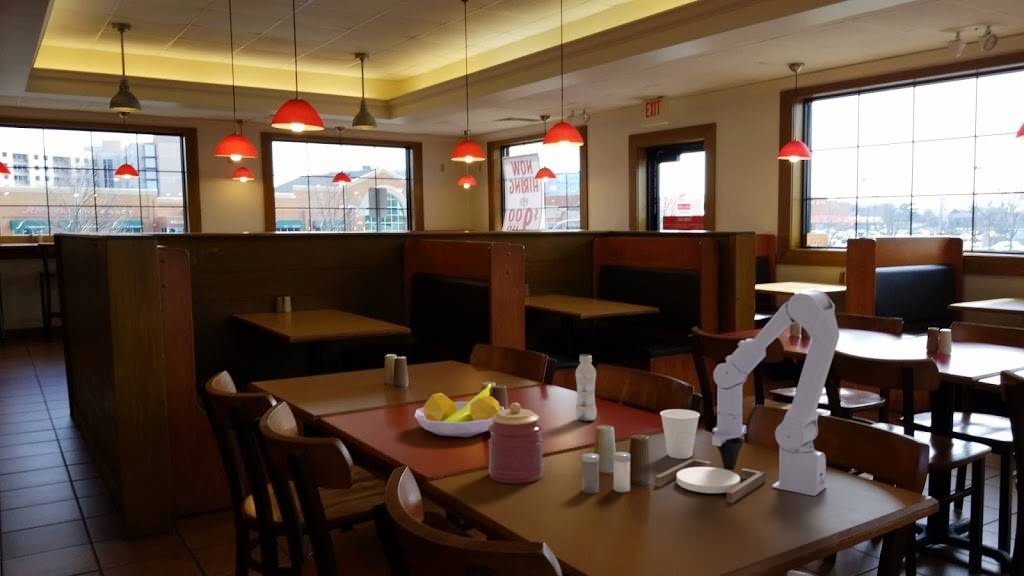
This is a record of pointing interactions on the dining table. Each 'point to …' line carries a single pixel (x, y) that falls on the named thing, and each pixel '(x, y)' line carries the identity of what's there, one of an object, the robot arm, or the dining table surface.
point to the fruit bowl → (458, 414)
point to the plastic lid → (707, 479)
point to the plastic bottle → (585, 389)
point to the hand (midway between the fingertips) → (729, 468)
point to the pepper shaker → (590, 473)
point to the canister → (515, 446)
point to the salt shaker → (621, 471)
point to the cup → (679, 432)
